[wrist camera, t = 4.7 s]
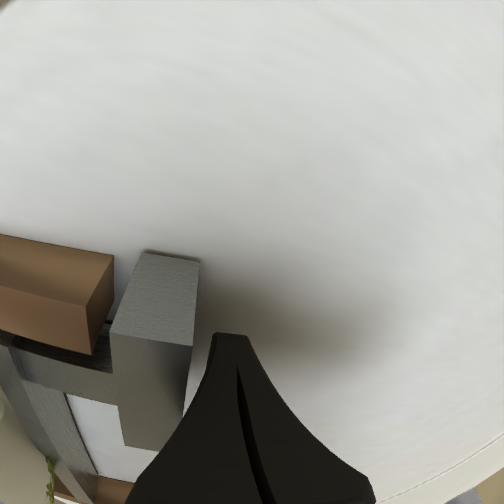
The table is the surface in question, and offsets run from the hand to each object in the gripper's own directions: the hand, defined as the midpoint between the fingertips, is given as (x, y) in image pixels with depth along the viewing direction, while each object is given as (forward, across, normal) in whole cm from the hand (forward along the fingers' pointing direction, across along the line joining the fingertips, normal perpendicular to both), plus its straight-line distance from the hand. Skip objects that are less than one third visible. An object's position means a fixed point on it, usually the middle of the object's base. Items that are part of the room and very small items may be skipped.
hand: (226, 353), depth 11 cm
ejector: (+1, +5, +9) cm, 10 cm away
